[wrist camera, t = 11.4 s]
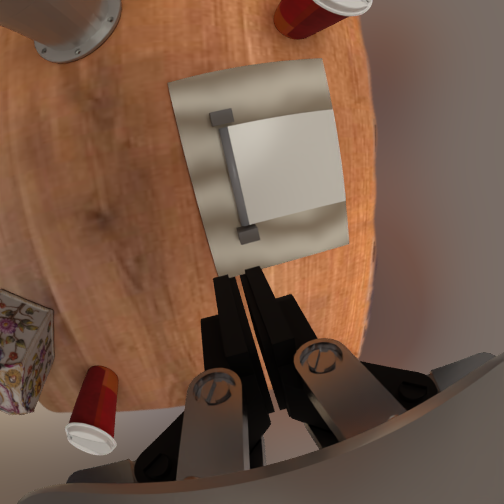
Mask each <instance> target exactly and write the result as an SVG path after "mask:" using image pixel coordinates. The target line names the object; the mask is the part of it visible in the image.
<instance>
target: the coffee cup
mask: <svg viewBox="0 0 504 504" xmlns="http://www.w3.org/2000/svg"><path fill="white" fill-rule="evenodd" d="M117 391H118V377H117V375H116V374H115V373H114V372H113V371H112V370H110V369H108V368H106V367H103V366H93V367H91V368H90V369H89V370H88V372H87V374H86V377H85V379H84V382H83V384H82V387H81V390H80V392H79V395H78V398H77V401H76V403H75V406H74V409H73V412H72V415H71V418H70V421H69V424H67V425H66V427H65V431H66V433H67V439H68V441H69V442H70V443H71V444H72V445H74V446H75V447H77V448H78V449H80V450H82V451H84V452H87V453H90V454H94V455H106V454H109V453H110V452H112V451H113V449H114V448H115V447H116V445H117V444H116V442H115V440H114V427H115V414H116V402H117Z"/></svg>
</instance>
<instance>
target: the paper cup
mask: <svg viewBox="0 0 504 504" xmlns="http://www.w3.org/2000/svg"><path fill="white" fill-rule="evenodd" d="M371 4H372V0H282V1H281V2H280V4H279V6H278V8H277V10H276V12H275V14H274V24H275V26H276V28H277V29H278V30H279V31H280V32H281V33H282V34H283V35H285V36H287V37H289V38H292V39H304V38H307V37H309V36H311V35H313V34H315V33H317V32H319V31H321V30H323V29H325V28H327V27H329V26H331V25H333V24H335V23H337V22H339V21H341V20H343V19H345V18H347V17H349V16H357V15H361V14H363V13H365V12H366V11H367V10H368V9H369V8H370V7H371Z"/></svg>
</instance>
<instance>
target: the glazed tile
mask: <svg viewBox="0 0 504 504" xmlns="http://www.w3.org/2000/svg"><path fill="white" fill-rule="evenodd" d="M218 130H219V134H220V138H221V142H222V147H223V151H224V155H225V160H226V164H227V168H228V173H229V177H230V181H231V185H232V190H233V194H234V198H235V202H236V207H237V211H238V215H239V219H240V224H241V226H248V225H251V224H255V223H258V222H262V221H266V220H270V219H274V218H278V217H282V216H286V215H290V214H294V213H298V212H302V211H306V210H310V209H314V208H318V207H322V206H326V205H330V204H334V203H339V202H343V201H346V197H345V188H344V179H343V171H342V164H341V156H340V149H339V142H338V136H337V130H336V124H335V118H334V112H333V109H330V110H321V111H313V112H306V113H299V114H292V115H286V116H279V117H273V118H268V119H262V120H257V121H252V122H247V123H242V124H237V125H233V126H228V127H224V128H219V129H218Z"/></svg>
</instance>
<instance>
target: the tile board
mask: <svg viewBox="0 0 504 504" xmlns="http://www.w3.org/2000/svg"><path fill="white" fill-rule="evenodd" d="M168 87H169V92H170V96H171V100H172V105H173V109H174V113H175V117H176V122H177V126H178V130H179V134H180V138H181V142H182V146H183V150H184V154H185V158H186V162H187V166H188V169H189V173H190V177H191V181H192V185H193V188H194V192H195V196H196V199H197V203H198V207H199V210H200V214H201V218H202V221H203V225H204V228H205V232H206V235H207V239H208V242H209V246H210V249H211V253H212V256H213V259H214V263H215V266H216V270H217V273H218V276H219V277H220V276H223V275H227V274H228V276H229V278H231V277H234V276H238V275H242V274H245V269H249V268H252V267H256V266H260V267H261V269H263V268H267V267H270V266H274V265H278V264H281V263H285V262H288V261H292V260H295V259H299V258H302V257H306V256H309V255H313V254H316V253H320V252H323V251H327V250H330V249H334V248H337V247H340V246H344V245H347V244H349V235H348V222H347V211H346V201H343V202H339V203H334V204H330V205H326V206H322V207H318V208H314V209H310V210H306V211H302V212H298V213H294V214H290V215H286V216H282V217H278V218H274V219H270V220H266V221H262V222H258V223H255V224H251V225H248V226H241V224H240V219H239V215H238V211H237V207H236V202H235V198H234V194H233V190H232V185H231V181H230V177H229V173H228V168H227V164H226V160H225V155H224V151H223V147H222V142H221V138H220V134H219V130H218V129H219V128H224V127H228V126H233V125H237V124H242V123H247V122H252V121H257V120H262V119H268V118H273V117H279V116H286V115H292V114H299V113H306V112H313V111H321V110H330V109H332V103H331V98H330V93H329V88H328V83H327V78H326V74H325V69H324V65H323V61H322V58H318V59H301V60H289V61H279V62H270V63H262V64H255V65H248V66H242V67H236V68H230V69H225V70H220V71H215V72H210V73H205V74H201V75H197V76H192V77H188V78H184V79H181V80H177V81H173V82H169V83H168Z"/></svg>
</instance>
